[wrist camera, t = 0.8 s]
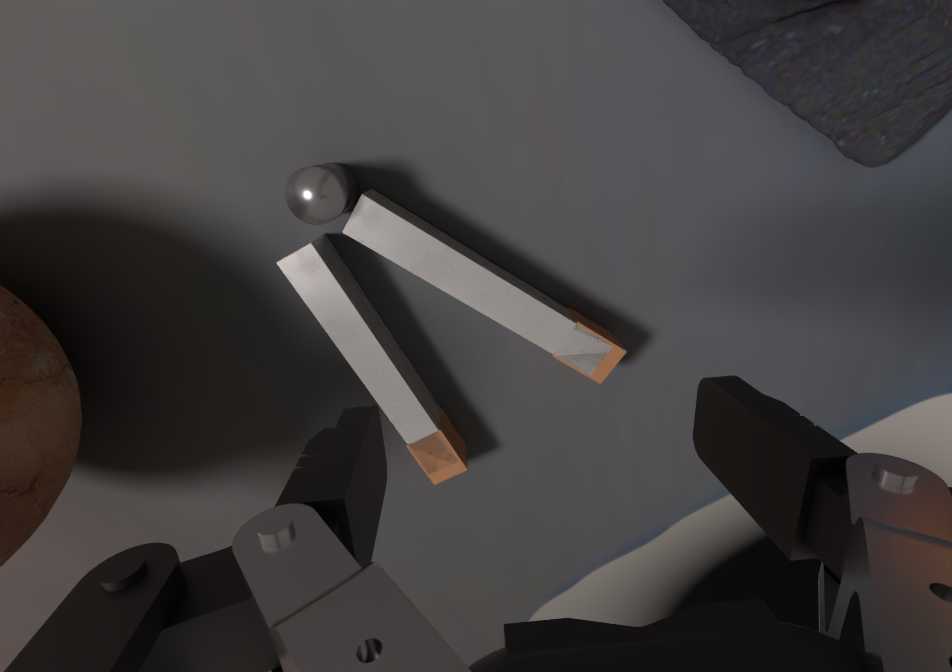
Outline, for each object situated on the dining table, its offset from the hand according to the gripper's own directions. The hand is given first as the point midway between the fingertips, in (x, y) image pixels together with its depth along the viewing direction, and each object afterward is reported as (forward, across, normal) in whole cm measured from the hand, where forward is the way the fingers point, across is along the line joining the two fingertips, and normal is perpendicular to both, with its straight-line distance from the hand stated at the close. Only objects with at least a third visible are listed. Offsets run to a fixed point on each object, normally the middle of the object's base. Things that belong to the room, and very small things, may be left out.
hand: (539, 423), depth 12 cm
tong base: (+21, +6, +4) cm, 23 cm away
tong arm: (+21, 0, +1) cm, 21 cm away
